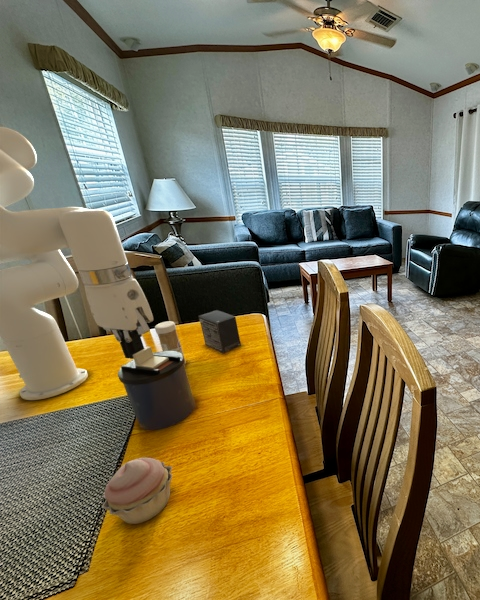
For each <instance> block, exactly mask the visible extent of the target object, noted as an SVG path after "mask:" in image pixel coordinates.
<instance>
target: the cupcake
mask: <svg viewBox="0 0 480 600" xmlns="http://www.w3.org/2000/svg"><path fill="white" fill-rule="evenodd" d="M172 469H173V466H171V465H165V462H164V461H160V460H159V459H156V458H153V457H145V456H143V457H139V458H135V459H132V460H129V461H127V462H125V463H124V464H123V465H121V466H120V468H118V470H117V471H115V473H114V474H113V476H112V477H111V478H110V479H109V481H108V483H107V484H106V486H105V488H104V492H103V495H102V498H104V499H105V501H104V502H103V503H102V506H101V509H104V510H107V511H109V515H113V516H116V517H118V518H120V519H121V520H122V521H123V522H124V523H125V524H130V525H138V524H142V523H144V522H147V521H149V520H152V519H153V518H154V517H156V516H157V515H158V514H160V513H161V512H162V511H163V510H164V508H165V507H166V506H167V504H168V503H169V500H170V496H171V482H172V478H173V474H172Z"/></svg>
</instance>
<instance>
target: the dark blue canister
mask: <svg viewBox="0 0 480 600" xmlns="http://www.w3.org/2000/svg"><path fill="white" fill-rule="evenodd" d="M153 355H154V356H159V357H167V358H169V360H168V361H166V362H165V363H163V364H161V365H160V366H158V367H157V368H155V369H151V368H144V367H136V366H135V365H136V363H135V360H134V359H131V360H130V361H128V362H127V363H125V364H121V365H120V369H119V370H118V372H117V377H118V380H119V381H120V383H122V384H123V387H124V389H125V392H126V395H127V397H128V400H129V403H130V405H131V407H132V410H133V413H134V415H135V418H136V420H137V423H138V426H139V427H140V428H141V429H143V430H146V431H157V430H158V431H159V430H162V429H166V428H169V427H172V426H174V425H177V424H179V423H180V422H182V421H184V420H185V419H187V418H188V417H189V416H190V415H191V414H192V413H193V412H194V410H195V408H196V401H195V398H194V394H193V391H192V387H191V384H190V381H189V378H188V374H187V370H186V368H185V367H186V366H184V359H185V357H184V358H183V355H184V354H183V355H182V354H181V353H180V352H177V351H163V350H160V351H156V352H153Z"/></svg>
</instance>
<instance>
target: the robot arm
mask: <svg viewBox="0 0 480 600" xmlns="http://www.w3.org/2000/svg"><path fill="white" fill-rule="evenodd" d="M37 157H38V156H37V152H36V150H35V148H34V146H33V144H32V143H31V142H30V141H29V140H28V139H27V138H26V137H25V136H24V135H23V134H22V133H20V132H18V131H17V130H15V129H13V128H9V127H6V126H0V265H2V264H3V265H4V264H7V263H12V262H13V263H14V262H18V261H19V262H20V261H24V260H29V261H30V263H26V264H21V265H15V266H9V267H5V268H0V339H1V341H2V343H3V345H4V347H5V348H6V350H7V353H8V354H9V356H10V358H11V360H12V362H13V364H14V366H15V368H16V370H17V371H18V373H19V375H18V377H19V378H20V379H22V382H23V383H24V386H23V387H22V388H20V390H19V396H20V397H21V399H22V400H24V401H25V400H26V401H38V400H39V401H40V400H45V399H48V398H52V397H55V396H58V395H62V394H64V393H66V392H69V391H71V390H74V389H75V388H76V387H79V386H80V385H81V384H83V383H84V382H85V381H86V380H87V379H88V376H89V373H88V371H87V369H85V368H79V367H77V366H76V364H75V361H74V359H73V356H72V354H71V353H70V350H69V348H68V345H67V343H66V341H65V338H64V336H63V334H62V332H61V329H60V328H59V325H58V323H57V321H56V319H55V318H54V316H52V315H51V314H49V313H47V312H44V311H43V310H39V309H37V308H36V307H35V306H37V305H39V304H42V303H45V302H49V301H52V300H55V299H59V298H62V297H66V296H69V295H71V294H73V293H75V292H76V291H77V290H78V289H79V279H78V277H77V275H76V273H75V271H74V270H73V269H74V268H72V266H71V264H70V263H69V262H68V260H67V259H66V257H65V256H64V254H63V253H62V251H61V250H64V249H69V250H70V254H71V257H72V259H73V262H74V264H75V266H76V269H77V272H78V275H79V277H80V279H81V282H82V285H83V287H84V291H85V297H86V300H87V304H88V307H89V310H90V312H91V315H92V318H93V320H94V322H95V324H96V325H97V326H98V327H100V328H102V329H103V330H104V331H107V332H110V333H111V334H113V336H114V338H115V340H116V341H117V342H119V344H120V348H121V350H122V353H123V355H124V357H125V359H130V360H134V358H133V355H134V354H135V353H137V352H139V351H141V350H143V349H145V346H144V344H143V341H142V337H143V335H144V334H147V333H149V332H150V331H151V329H150V327H149V325H148V324H150V323H152V322H153V321H154V315H153V313H152V310H151V307H150V304H149V302H148V299H147V297H146V295H145V292H144V291H143V289H142V287H141V285H140V284H139V282H138V281H137V279H136V278H134V276H133V274H132V271H131V268H130V263H129V262H128V259H127V255H126V252H125V249H124V246H123V244H122V243H123V242H122V240H121V237H120V234H119V231H118V228H117V225H116V222H115V219H114V217H113V215H112V213H110V212H109V211H107V210H105V209H99V208H97V209H96V208H94V209H91V208H90V209H89V208H85V207H80V206H67V207H64V206H63V207H55V208H54V207H53V208H51V207H50V208H40V209H39V208H38V209H27V210H17V211H11V210H9V209H7V207H9V206H11V205H13V204H16V203H17V202H20V201H22V200H24V199H25V198H26V197H28V196H29V195H30V194H31V193H32V191H33V189H34V187H35V180H34V176H33V175H32V174H31V172H30V171H29V170H31V169H33V168H34V167H35V166H36V164H37V160H38V158H37ZM147 323H148V324H147Z"/></svg>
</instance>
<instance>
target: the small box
mask: <svg viewBox="0 0 480 600" xmlns="http://www.w3.org/2000/svg"><path fill="white" fill-rule="evenodd" d="M197 317H198V320H199V323H200V327H201V332H202V334H203V336H202V337H203V340H204V345H205V346H206V347H208V348H210V349H212V350H214V351H216V352H218V353H221V354H226V353H229V352H231V351H233V350H235V349H237V348H240V347H241V346H242V343H241V338H240V334H239V327H238V324H237V318H236V316H235V315H232V314H229V313H226V312H224V311H221V310H218V309H216V310H213V311H210V312H207V313H204V314H200V315H198V316H197Z"/></svg>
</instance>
